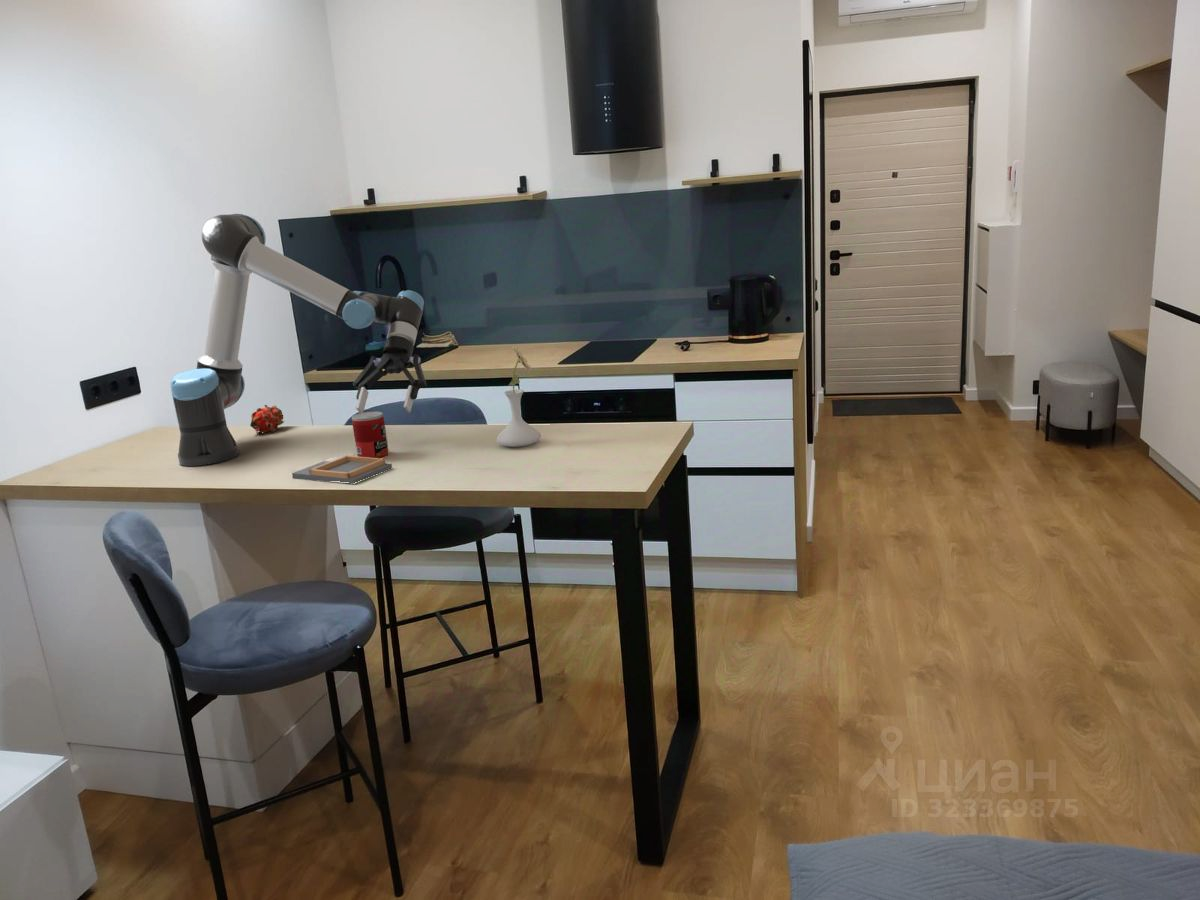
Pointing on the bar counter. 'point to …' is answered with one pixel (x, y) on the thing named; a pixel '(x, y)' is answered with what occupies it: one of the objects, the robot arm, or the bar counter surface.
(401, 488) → the bar counter surface
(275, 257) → the robot arm
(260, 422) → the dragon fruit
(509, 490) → the bar counter surface
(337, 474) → the plate
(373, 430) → the canned food
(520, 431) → the flower in vase
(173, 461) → the bar counter surface
